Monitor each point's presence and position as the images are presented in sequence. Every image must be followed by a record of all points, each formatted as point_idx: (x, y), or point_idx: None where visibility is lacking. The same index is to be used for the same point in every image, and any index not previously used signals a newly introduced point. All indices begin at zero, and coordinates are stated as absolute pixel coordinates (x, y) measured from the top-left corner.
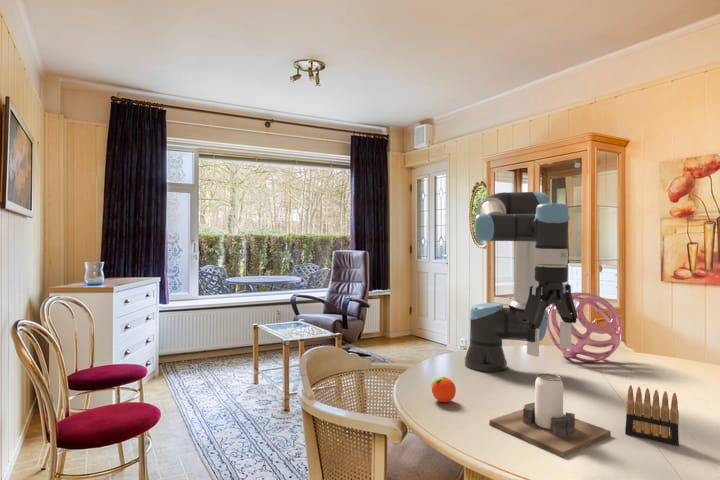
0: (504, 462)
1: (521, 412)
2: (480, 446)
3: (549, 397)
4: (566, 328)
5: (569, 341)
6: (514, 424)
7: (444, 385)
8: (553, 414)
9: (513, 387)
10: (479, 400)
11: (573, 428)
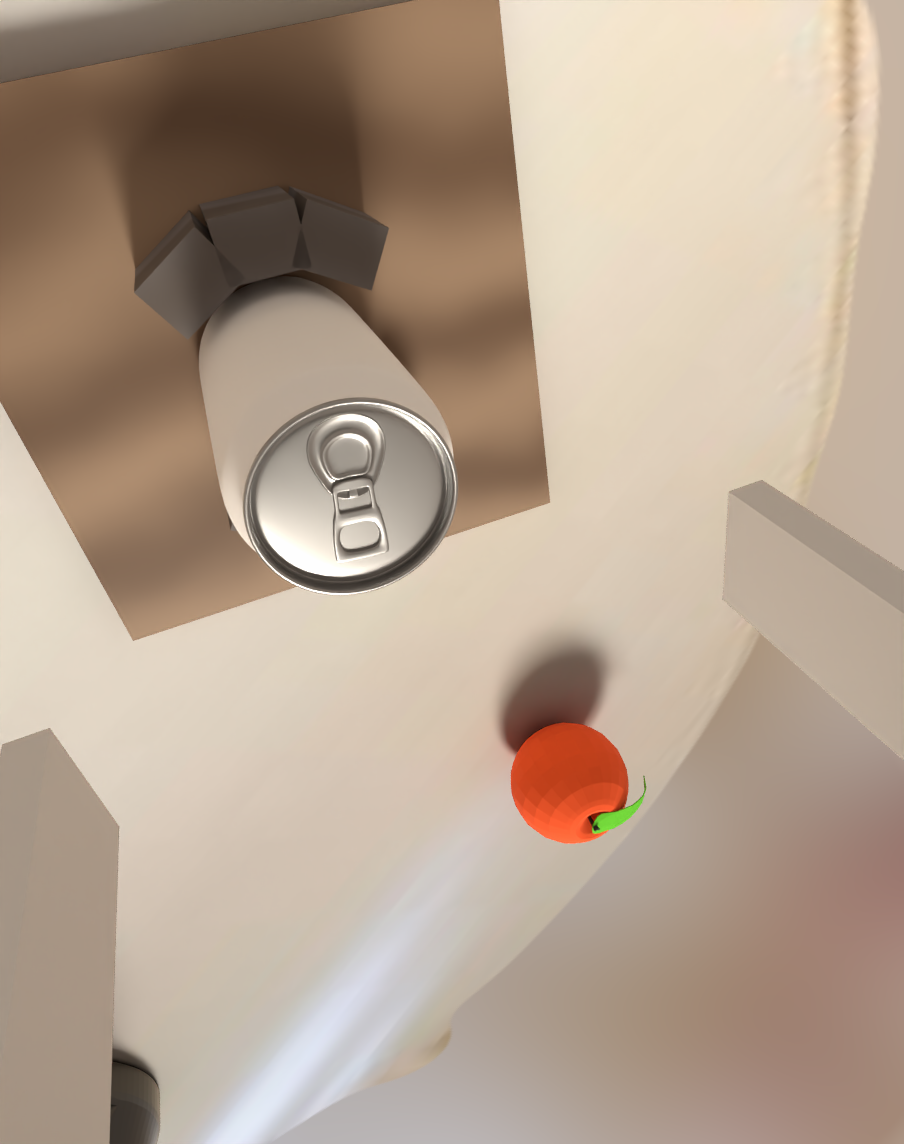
0: (785, 98)
1: None
2: (744, 294)
3: (396, 360)
4: (45, 1070)
5: (39, 817)
6: (473, 424)
7: (611, 774)
8: (340, 308)
9: None
10: (380, 745)
11: (209, 205)
